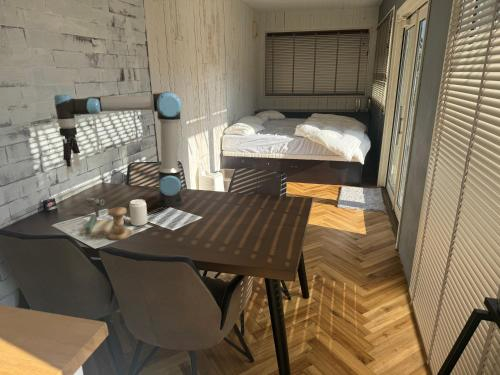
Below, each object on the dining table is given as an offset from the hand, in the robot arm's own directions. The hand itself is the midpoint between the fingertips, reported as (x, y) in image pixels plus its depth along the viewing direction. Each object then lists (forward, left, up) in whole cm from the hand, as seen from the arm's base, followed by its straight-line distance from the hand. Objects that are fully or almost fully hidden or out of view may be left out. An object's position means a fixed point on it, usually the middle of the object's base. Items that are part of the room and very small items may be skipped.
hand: (74, 169), depth 176 cm
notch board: (-14, +16, -27) cm, 34 cm away
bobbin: (-22, +27, -27) cm, 44 cm away
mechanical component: (-8, -1, -27) cm, 28 cm away
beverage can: (-30, +14, -27) cm, 43 cm away
